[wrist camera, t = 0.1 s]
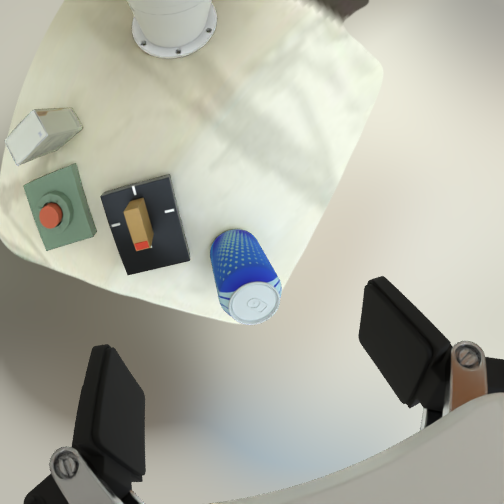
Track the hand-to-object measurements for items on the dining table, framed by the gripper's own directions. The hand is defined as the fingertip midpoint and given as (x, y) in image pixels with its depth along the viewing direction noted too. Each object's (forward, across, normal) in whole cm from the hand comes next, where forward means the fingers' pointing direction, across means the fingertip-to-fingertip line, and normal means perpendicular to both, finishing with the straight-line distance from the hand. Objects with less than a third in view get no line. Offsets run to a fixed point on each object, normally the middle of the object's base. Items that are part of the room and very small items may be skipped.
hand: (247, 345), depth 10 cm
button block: (+37, +24, 0) cm, 44 cm away
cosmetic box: (+37, +20, -12) cm, 44 cm away
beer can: (+37, -3, +15) cm, 40 cm away
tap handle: (+34, +10, +5) cm, 36 cm away
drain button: (+33, +24, 0) cm, 41 cm away
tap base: (+37, +10, +7) cm, 39 cm away
